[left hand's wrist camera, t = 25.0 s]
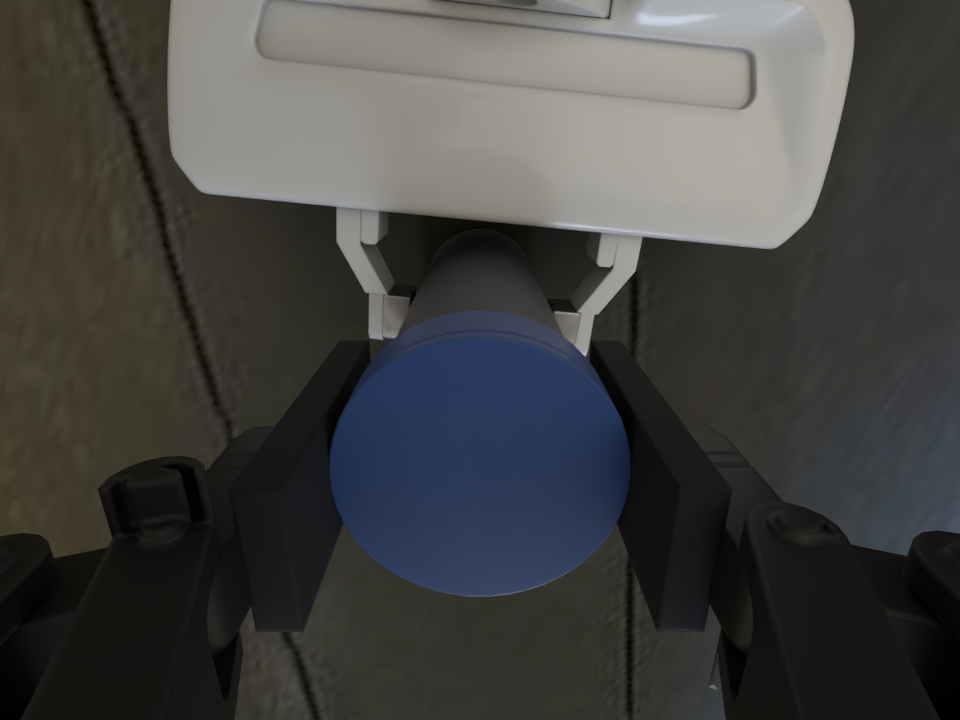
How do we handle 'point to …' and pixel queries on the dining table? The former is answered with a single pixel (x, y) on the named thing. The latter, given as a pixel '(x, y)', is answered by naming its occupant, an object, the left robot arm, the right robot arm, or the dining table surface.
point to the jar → (480, 281)
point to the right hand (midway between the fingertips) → (479, 344)
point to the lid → (480, 456)
